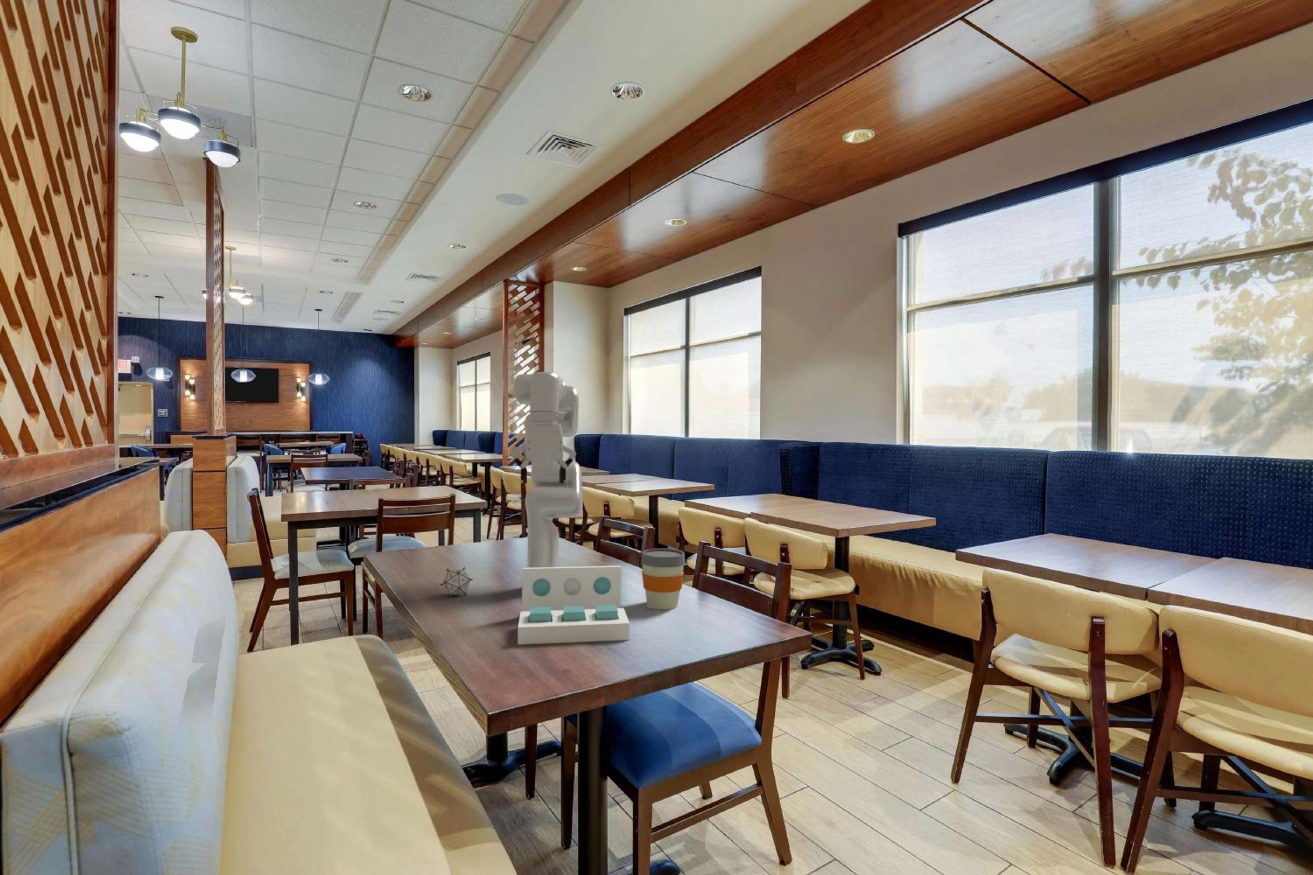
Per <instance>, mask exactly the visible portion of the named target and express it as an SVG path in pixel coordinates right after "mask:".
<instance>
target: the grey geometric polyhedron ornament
mask: <svg viewBox="0 0 1313 875" xmlns="http://www.w3.org/2000/svg"><path fill="white" fill-rule="evenodd" d="M465 569H466V566H464V567H463V568H461V569H453V570H452V569H451V570H450V569H449V568H446V571H447V572H446V576H445V578H444V580H443V583H441V584H440V586H443V587H444V588H445V590H446V592H447V593H448V595H447V598H448V597H449V598H450V597H451V596H454V595H462V594H463V595H464V596H466V595H467V596H468V594H467V589H468V587H469V585H470V582H471V581H473V580H474V579H473V578H470V576H468V574H467V572H466V570H465Z"/></svg>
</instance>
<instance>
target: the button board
mask: <svg viewBox="0 0 1313 875" xmlns="http://www.w3.org/2000/svg"><path fill="white" fill-rule="evenodd" d="M617 610H618V619H616V620H596V619H595V614H596V609H584V611H585V621H563V610H553V611H551V622H534V623H530V611H523V612H522V611H520V614H519V619H518V626H517V646H518V645H535V644H536V645H537V644H538V645H540V644H541V645H542V644H561V643H562V644H564V643H566V644H567V643H582V642H585V643H588V642H590V643H591V642H607V641H608V642H609V641H610V642H611V641H629V640H630V624H631V623H630V620H629V618H628V616H627V612H626V611H625V608H622V607H620V608H617Z"/></svg>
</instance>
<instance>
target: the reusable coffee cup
mask: <svg viewBox="0 0 1313 875" xmlns="http://www.w3.org/2000/svg"><path fill="white" fill-rule="evenodd" d="M641 554H642V555H641V560H640V561H641V564H642V572H641V576H642V583H643V584H642V586H643V589H644V590H645V599H646V606H647V607H648V608H651V609H653V608H654V609H655V610H660V609H667V610H673V609H677V608H678V607H679V599H680V593H681V590H682V588H683V581H684V575H685V572H684V566H685V564H686V559H685V557H686V556H685V552H684V551H682V550H679V549H674V548H650V549H645V550H643V551H642V553H641ZM672 608H673V609H672Z"/></svg>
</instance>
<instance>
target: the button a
mask: <svg viewBox="0 0 1313 875" xmlns="http://www.w3.org/2000/svg"><path fill="white" fill-rule="evenodd" d="M534 622H551V607H530V623H534Z"/></svg>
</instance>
